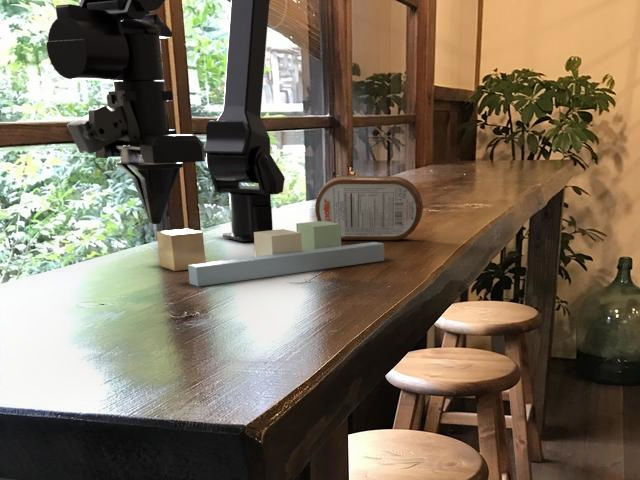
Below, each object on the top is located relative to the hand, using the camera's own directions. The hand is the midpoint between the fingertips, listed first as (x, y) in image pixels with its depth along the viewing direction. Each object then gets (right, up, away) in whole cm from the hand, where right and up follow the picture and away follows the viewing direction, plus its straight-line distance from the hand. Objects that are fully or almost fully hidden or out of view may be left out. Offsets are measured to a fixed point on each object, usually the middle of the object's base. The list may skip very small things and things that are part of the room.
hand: (155, 223), depth 99 cm
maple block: (+4, -6, -3) cm, 8 cm away
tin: (+26, +3, +15) cm, 31 cm away
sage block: (+20, -3, +3) cm, 21 cm away
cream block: (+16, -7, -4) cm, 18 cm away
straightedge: (+18, -8, -7) cm, 20 cm away
